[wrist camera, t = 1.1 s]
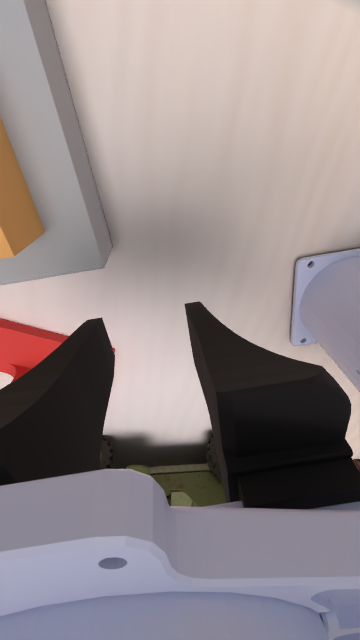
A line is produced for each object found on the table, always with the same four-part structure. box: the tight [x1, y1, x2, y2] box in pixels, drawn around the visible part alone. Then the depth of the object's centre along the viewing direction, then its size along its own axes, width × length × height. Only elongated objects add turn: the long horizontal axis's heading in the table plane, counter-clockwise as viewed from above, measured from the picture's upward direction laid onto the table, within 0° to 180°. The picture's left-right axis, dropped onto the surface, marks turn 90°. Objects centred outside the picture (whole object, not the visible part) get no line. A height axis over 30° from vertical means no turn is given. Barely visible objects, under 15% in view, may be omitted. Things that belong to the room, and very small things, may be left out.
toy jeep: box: [99, 435, 226, 507], centre depth 29 cm, size 12×25×11 cm, turn 89°
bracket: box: [0, 318, 115, 383], centre depth 21 cm, size 12×4×8 cm, turn 68°
